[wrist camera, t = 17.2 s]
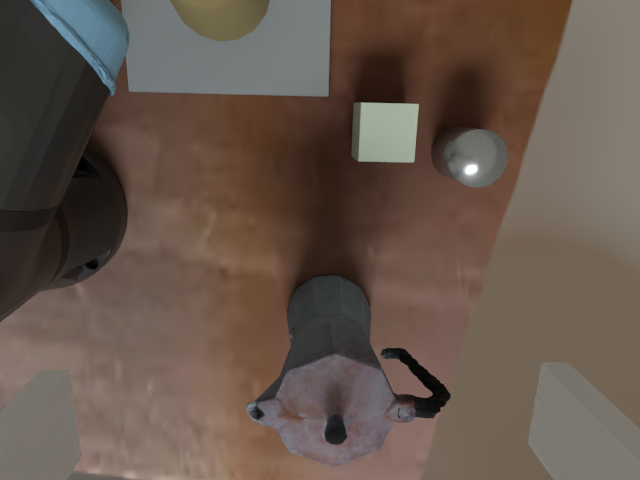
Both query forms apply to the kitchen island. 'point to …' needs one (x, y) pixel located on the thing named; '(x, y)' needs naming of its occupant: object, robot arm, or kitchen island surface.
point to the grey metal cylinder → (470, 155)
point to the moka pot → (338, 379)
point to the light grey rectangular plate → (230, 52)
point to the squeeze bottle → (221, 17)
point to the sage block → (384, 132)
